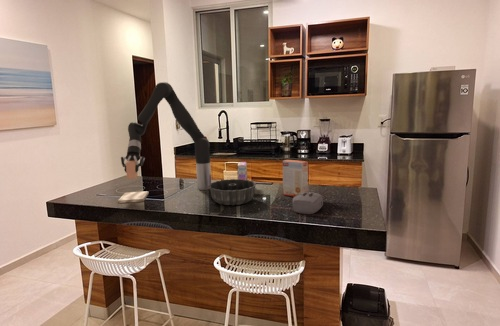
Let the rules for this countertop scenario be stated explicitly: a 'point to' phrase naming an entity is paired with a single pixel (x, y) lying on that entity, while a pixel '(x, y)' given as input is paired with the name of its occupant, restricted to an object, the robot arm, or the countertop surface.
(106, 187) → the countertop surface
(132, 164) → the terracotta block
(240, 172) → the candy box
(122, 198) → the birch board
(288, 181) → the cracker box
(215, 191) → the bundt pan
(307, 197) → the soft grey pack
